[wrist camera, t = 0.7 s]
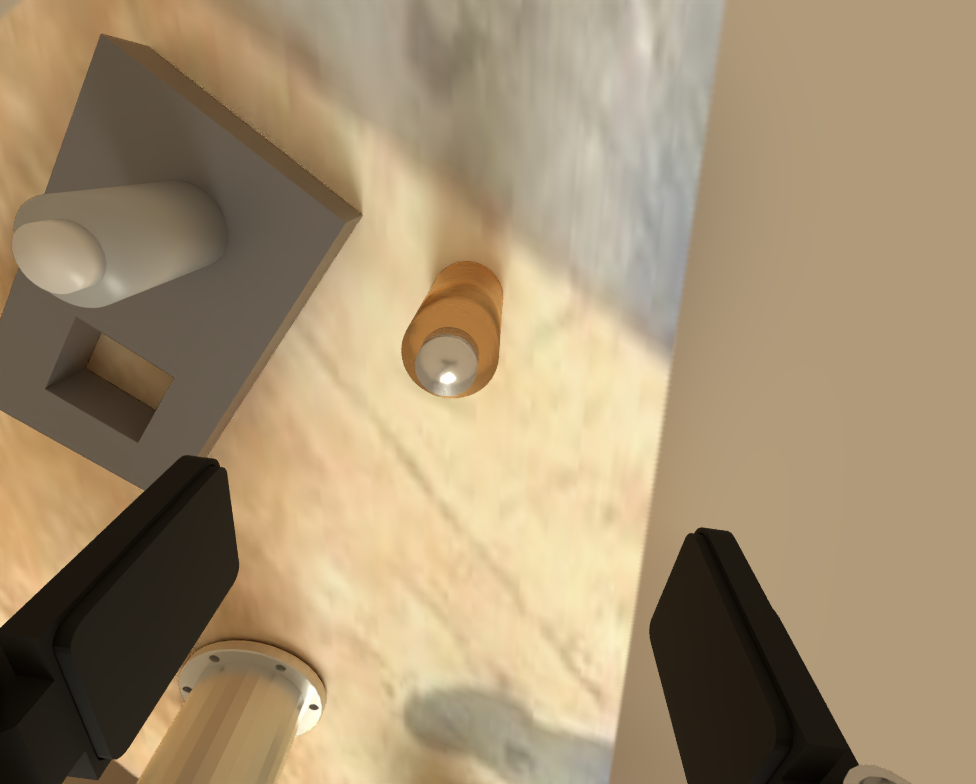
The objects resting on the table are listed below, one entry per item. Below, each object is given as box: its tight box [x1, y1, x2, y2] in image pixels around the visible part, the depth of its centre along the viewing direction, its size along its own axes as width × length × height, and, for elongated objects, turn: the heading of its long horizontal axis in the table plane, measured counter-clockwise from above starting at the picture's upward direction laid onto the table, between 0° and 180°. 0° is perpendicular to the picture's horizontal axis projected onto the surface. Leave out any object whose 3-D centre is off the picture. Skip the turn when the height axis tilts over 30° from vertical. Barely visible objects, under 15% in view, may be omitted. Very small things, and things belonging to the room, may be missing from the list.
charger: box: [0, 34, 363, 490], centre depth 24 cm, size 22×12×11 cm, turn 141°
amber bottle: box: [401, 261, 503, 398], centre depth 24 cm, size 4×4×10 cm
